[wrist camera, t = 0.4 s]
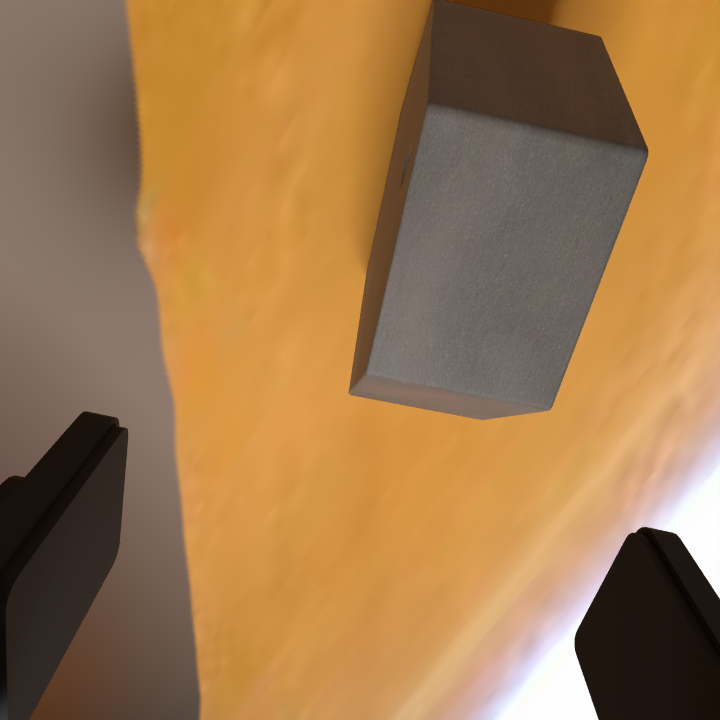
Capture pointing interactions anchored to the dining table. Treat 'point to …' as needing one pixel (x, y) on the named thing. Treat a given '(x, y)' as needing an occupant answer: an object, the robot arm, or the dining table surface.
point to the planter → (494, 215)
